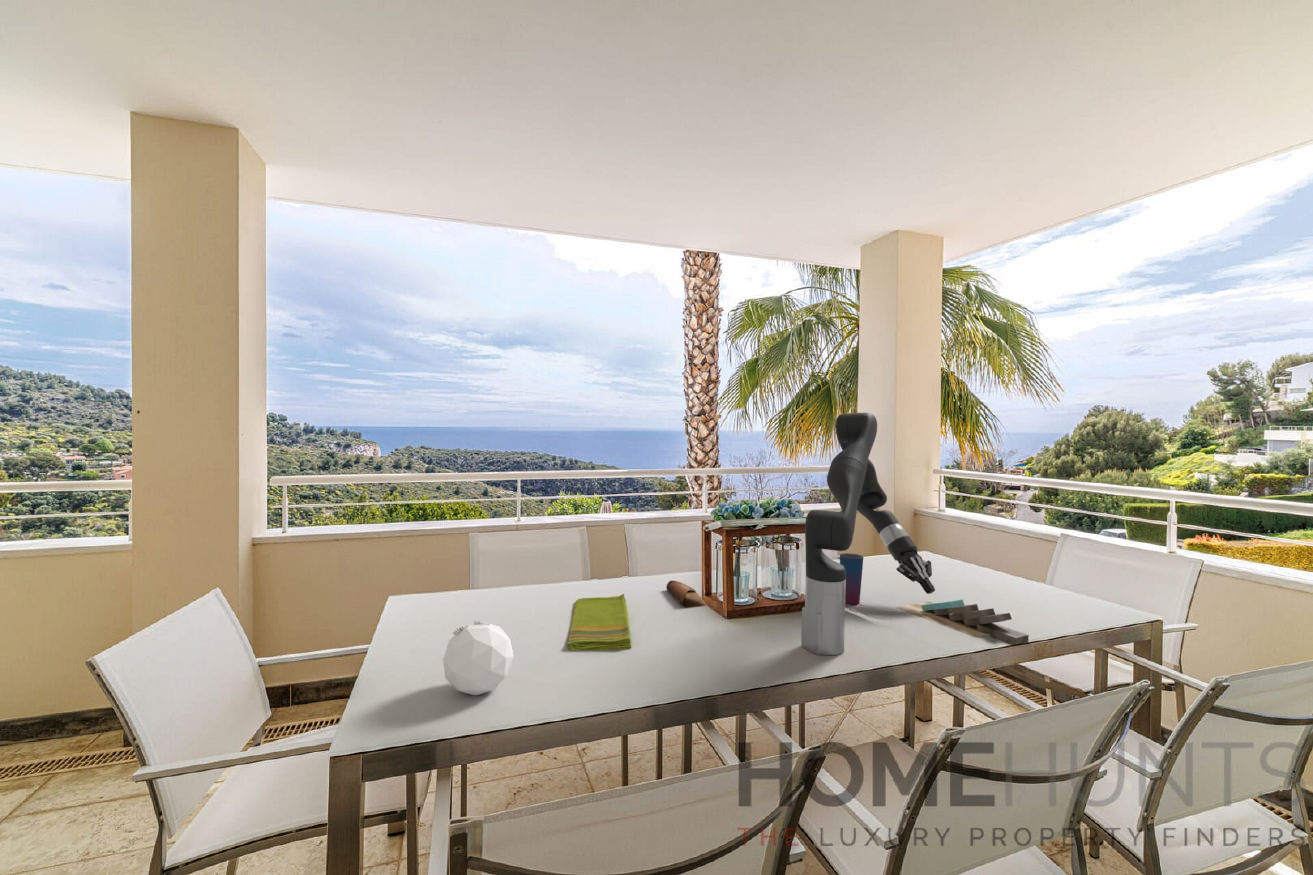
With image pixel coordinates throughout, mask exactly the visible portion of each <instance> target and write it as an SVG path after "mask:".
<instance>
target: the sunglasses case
mask: <svg viewBox="0 0 1313 875" xmlns="http://www.w3.org/2000/svg"><path fill="white" fill-rule="evenodd" d="M666 590H667V592H669V593H670V594H671V595H672V596H673V597H674V598H675V600H676V601H677V602H678V603H679V604H680V605H681V606H682V607H683V608H684V609H686V608H697V607H707V606H708V603H706V601H705V600H704V599H703V597H701V595H700V594H699V593H697V592H696V590H695V588H693V587H691V586H689V585H687V584H685V583H683V582H680V581H679V580H669V581H668V582H667V584H666Z"/></svg>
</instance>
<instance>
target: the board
mask: <svg viewBox="0 0 1313 875" xmlns="http://www.w3.org/2000/svg"><path fill="white" fill-rule="evenodd" d="M931 603H933V602H932V601H924V602H919V603H914V604H913V603H912V604H907V605H901V606H897V607H895V608H897V609H899V610H902V611H904V612H907V613H910V614H913V615H915V616H918V617H920V618H924V619H926V620H929V621H931V622H934V623H937V624H940V625H942V626H946V627H948V628H950V629H953V630H955V631H959V632H961V633H963V634H967V635H969V636H971V637H975V638H981V637H985V636H989V635H988V634H985V633H982V632H980V631H977V624H976V625H967V626H965V624H964V621H963V620H955V621H950V618H949V615H951V614H947V615H937V616H935V612H934V610H927V611H923V610H922V606H921V605H925V604H931Z"/></svg>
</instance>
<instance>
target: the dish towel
mask: <svg viewBox="0 0 1313 875" xmlns="http://www.w3.org/2000/svg"><path fill="white" fill-rule="evenodd" d="M574 602H575V603H574V609H573V610H574V611H573V615H572V616H573V617H572V621H571V622H572V623H571V626H570V630H569V636H568V639H567V643H566V646H567V650H570V651H587V650H588V651H591V650H592V651H597V650H599V651H600V650H603V651H604V650H630V649H632V642H631V641H632V638H631V637H632V636H631V631H630V620H629V619H630V618H629V615H628V614H629V612H628V605H627V599H626V598H625V594H624V593H622V594H620V595H617V596H615V595H614V596H608V597H604V596H603V597H582V598H577V600H575V601H574Z"/></svg>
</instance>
